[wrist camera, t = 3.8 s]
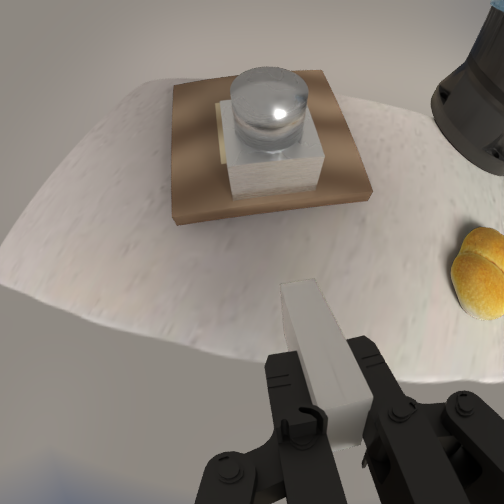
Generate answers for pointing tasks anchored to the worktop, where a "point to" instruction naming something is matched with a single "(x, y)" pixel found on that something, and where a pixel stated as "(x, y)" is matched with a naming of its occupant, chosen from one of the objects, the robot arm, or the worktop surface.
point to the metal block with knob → (270, 135)
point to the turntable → (215, 164)
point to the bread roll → (480, 274)
